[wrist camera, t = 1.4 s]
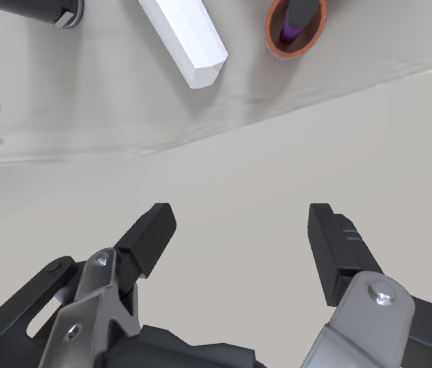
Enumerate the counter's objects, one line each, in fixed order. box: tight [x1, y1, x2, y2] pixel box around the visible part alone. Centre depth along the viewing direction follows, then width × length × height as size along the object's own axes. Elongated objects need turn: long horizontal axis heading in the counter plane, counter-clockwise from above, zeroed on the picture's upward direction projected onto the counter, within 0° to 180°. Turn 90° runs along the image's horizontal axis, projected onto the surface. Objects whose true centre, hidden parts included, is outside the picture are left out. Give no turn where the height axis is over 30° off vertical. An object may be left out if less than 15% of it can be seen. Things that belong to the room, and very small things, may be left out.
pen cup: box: [265, 0, 327, 62], centre depth 22 cm, size 6×6×6 cm
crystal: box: [138, 0, 228, 88], centre depth 24 cm, size 7×7×24 cm
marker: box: [280, 0, 320, 44], centre depth 19 cm, size 2×2×11 cm
